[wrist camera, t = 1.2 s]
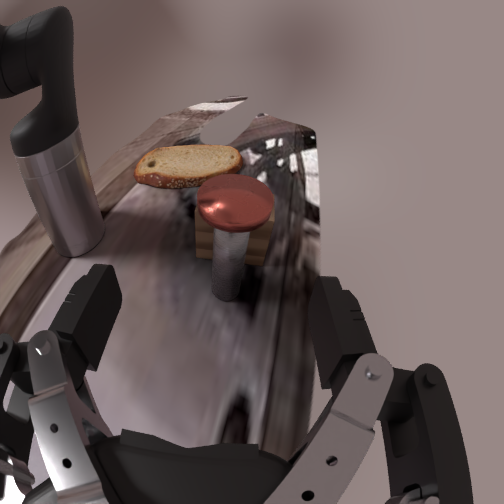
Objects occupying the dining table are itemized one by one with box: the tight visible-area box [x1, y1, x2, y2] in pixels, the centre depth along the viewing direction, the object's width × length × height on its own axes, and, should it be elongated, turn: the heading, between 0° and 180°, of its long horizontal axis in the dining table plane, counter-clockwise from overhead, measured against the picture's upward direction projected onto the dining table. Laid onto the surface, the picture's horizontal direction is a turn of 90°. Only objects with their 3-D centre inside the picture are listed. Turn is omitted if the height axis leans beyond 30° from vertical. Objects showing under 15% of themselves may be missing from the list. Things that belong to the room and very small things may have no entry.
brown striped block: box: [195, 194, 274, 266], centre depth 35 cm, size 5×9×8 cm, turn 86°
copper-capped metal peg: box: [197, 174, 274, 301], centre depth 30 cm, size 14×6×14 cm, turn 176°
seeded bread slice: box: [134, 145, 243, 189], centre depth 49 cm, size 18×18×4 cm
